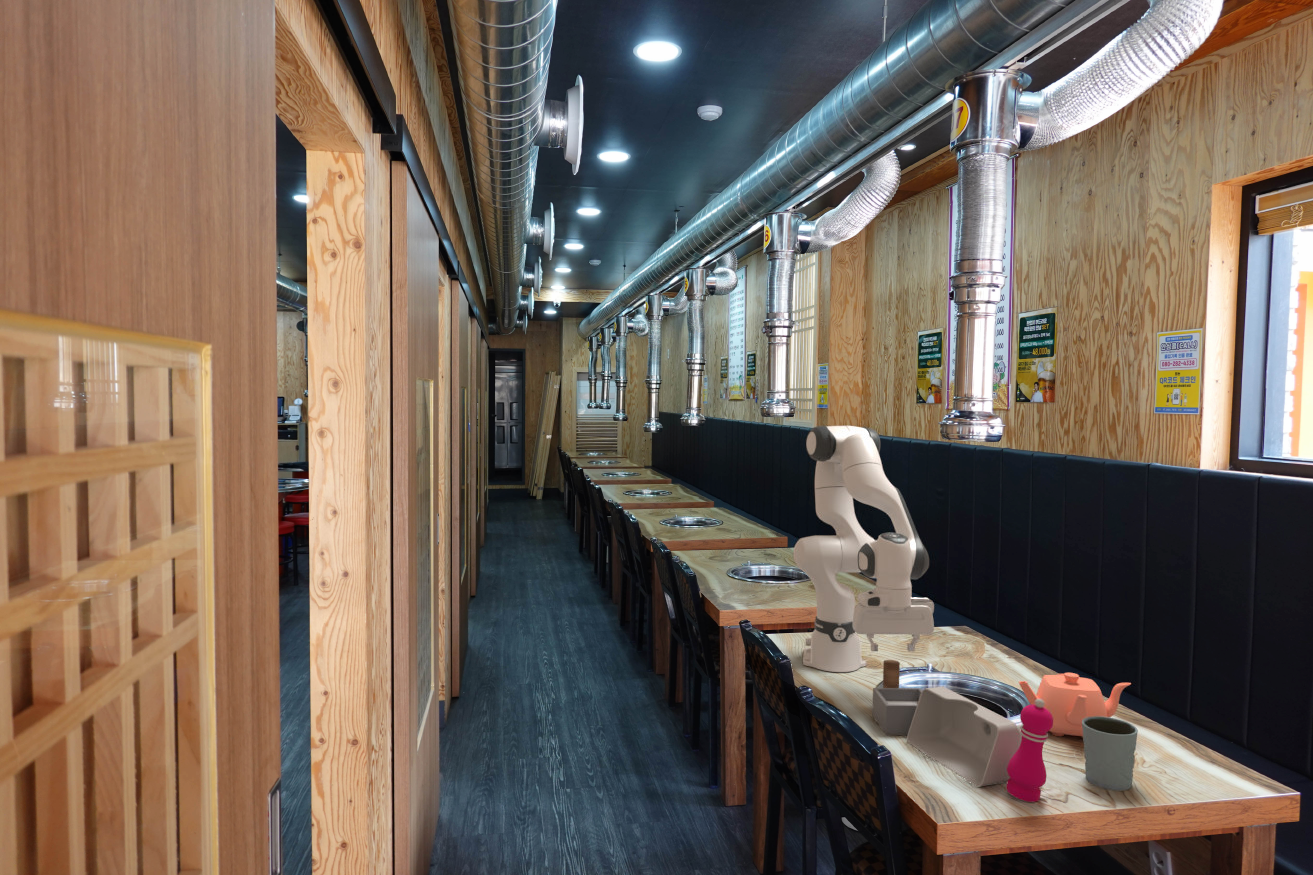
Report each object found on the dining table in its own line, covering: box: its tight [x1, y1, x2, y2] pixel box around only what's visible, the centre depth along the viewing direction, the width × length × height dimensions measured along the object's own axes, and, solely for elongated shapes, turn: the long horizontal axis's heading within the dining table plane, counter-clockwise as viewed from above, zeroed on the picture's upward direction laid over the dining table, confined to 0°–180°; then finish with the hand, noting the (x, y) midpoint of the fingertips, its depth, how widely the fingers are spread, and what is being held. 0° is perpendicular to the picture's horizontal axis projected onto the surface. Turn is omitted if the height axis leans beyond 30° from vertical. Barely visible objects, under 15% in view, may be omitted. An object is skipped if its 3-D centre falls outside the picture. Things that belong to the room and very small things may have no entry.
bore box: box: [871, 687, 923, 736], centre depth 201 cm, size 12×12×7 cm
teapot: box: [1018, 672, 1132, 739], centre depth 198 cm, size 18×18×14 cm
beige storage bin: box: [906, 686, 1022, 788], centre depth 182 cm, size 25×16×12 cm, turn 19°
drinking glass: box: [1082, 716, 1138, 792], centre depth 172 cm, size 10×10×12 cm
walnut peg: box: [882, 659, 900, 688], centre depth 212 cm, size 4×4×12 cm
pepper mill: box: [1005, 699, 1053, 803], centre depth 164 cm, size 7×7×20 cm
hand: (892, 650), depth 211 cm, fingers open, 8 cm apart
